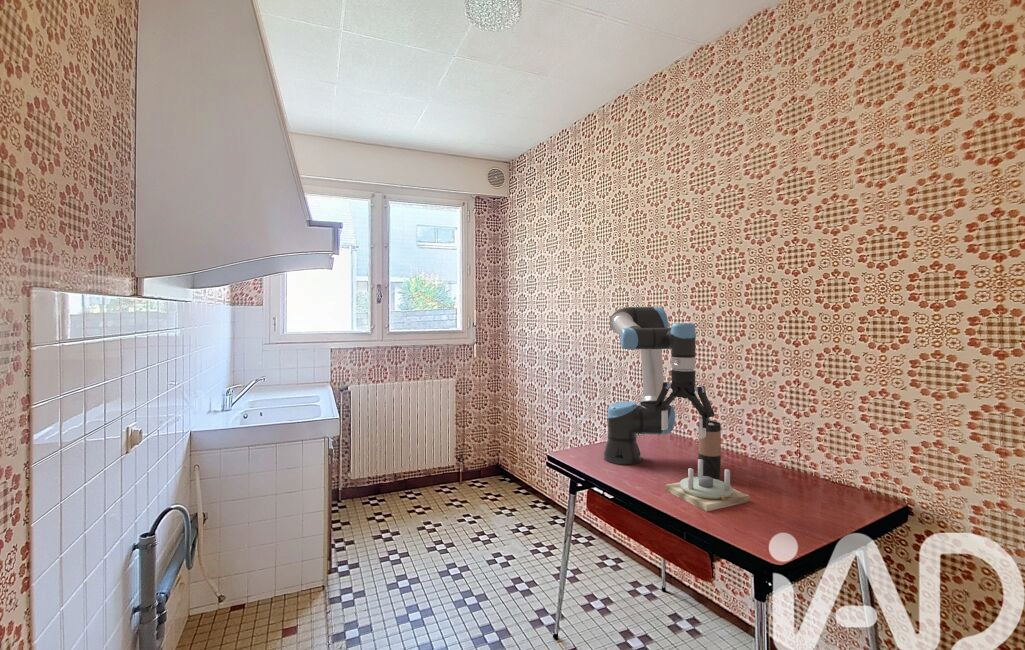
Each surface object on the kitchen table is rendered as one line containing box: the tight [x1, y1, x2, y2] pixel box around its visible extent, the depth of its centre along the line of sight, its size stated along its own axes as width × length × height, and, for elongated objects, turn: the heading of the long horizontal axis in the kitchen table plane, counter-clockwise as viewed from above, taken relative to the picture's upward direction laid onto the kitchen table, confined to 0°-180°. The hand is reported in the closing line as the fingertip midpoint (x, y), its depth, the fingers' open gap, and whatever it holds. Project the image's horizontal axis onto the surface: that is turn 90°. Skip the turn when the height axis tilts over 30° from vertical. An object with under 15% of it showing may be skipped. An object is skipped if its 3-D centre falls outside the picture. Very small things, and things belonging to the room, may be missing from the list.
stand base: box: [665, 481, 750, 513], centre depth 151 cm, size 18×18×3 cm
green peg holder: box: [679, 458, 734, 499], centre depth 151 cm, size 16×16×8 cm
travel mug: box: [697, 420, 722, 480], centre depth 169 cm, size 8×8×20 cm
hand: (683, 433), depth 152 cm, fingers open, 13 cm apart
